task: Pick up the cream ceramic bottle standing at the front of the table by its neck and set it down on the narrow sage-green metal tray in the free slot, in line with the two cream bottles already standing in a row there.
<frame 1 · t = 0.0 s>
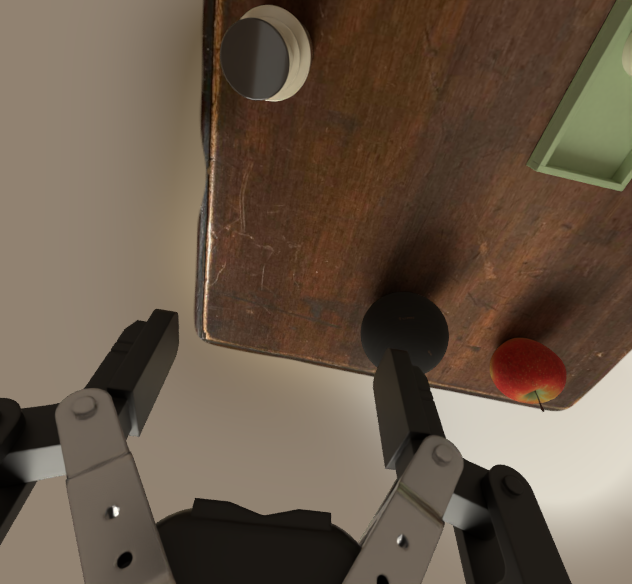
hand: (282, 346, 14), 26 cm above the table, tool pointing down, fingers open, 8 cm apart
apple: (510, 345, 49), on the table
black ball: (395, 306, 46), on the table
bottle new: (283, 52, 30), on the table
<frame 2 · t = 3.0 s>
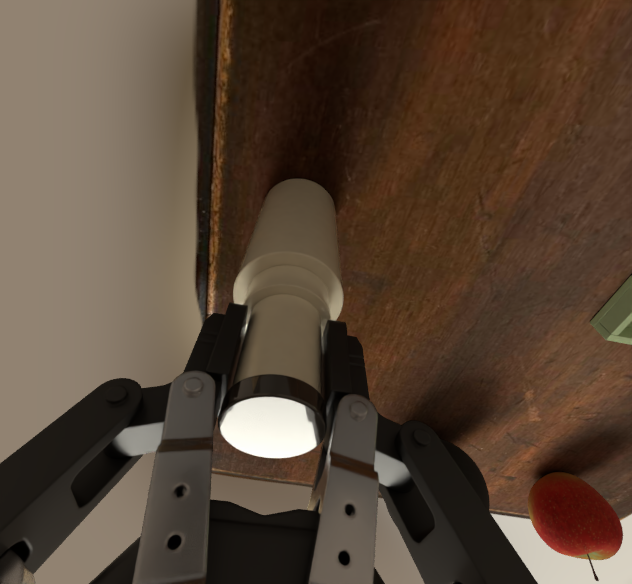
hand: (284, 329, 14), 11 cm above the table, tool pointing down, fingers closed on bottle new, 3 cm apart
apple: (550, 475, 43), on the table
black ball: (421, 443, 40), on the table
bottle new: (298, 215, 24), on the table, touching gripper
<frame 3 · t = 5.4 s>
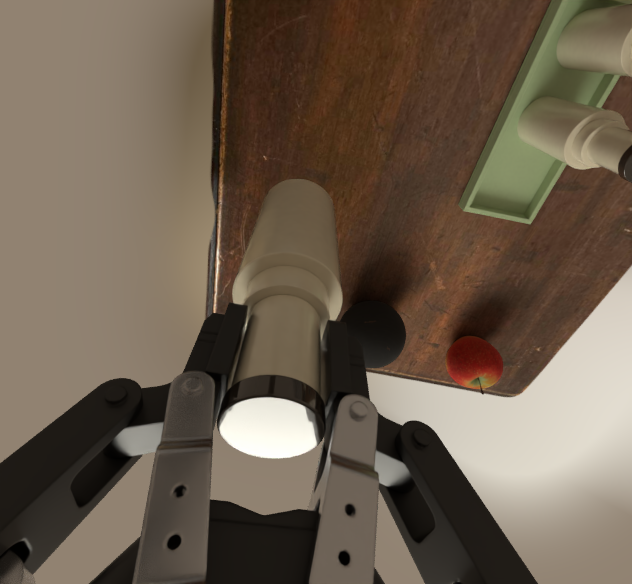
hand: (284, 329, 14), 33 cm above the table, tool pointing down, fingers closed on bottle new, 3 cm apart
apple: (463, 342, 60), on the table
bottle a: (583, 40, 35), point 1 cm above the table, touching tray
bottle b: (540, 121, 39), point 1 cm above the table, touching tray
black ball: (367, 312, 57), on the table
tray: (538, 120, 40), on the table
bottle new: (298, 215, 24), point 22 cm above the table, touching gripper
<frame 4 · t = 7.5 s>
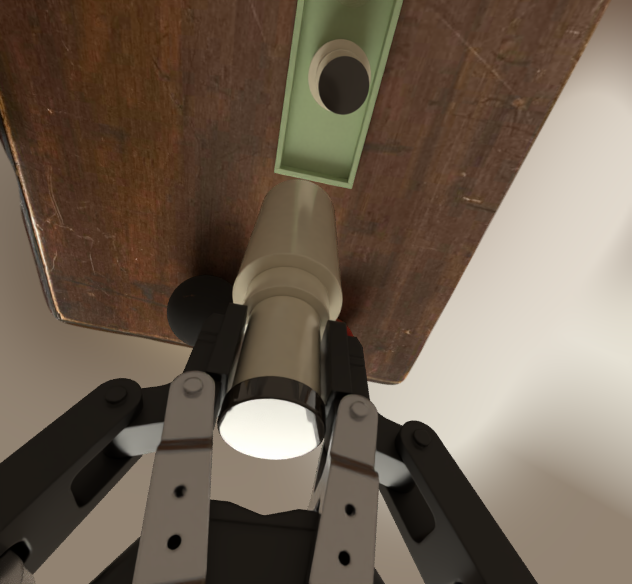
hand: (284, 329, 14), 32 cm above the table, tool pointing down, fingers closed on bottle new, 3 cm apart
bottle b: (335, 69, 36), point 1 cm above the table, touching tray
black ball: (215, 289, 53), on the table
tray: (335, 69, 36), on the table
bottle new: (297, 216, 24), point 21 cm above the table, touching gripper
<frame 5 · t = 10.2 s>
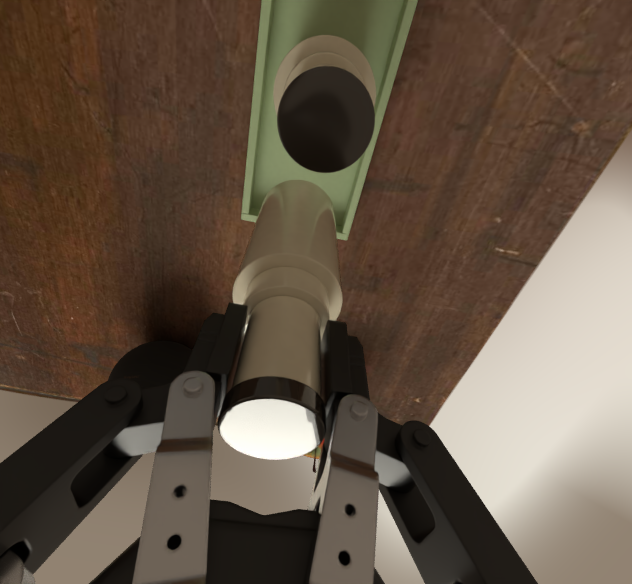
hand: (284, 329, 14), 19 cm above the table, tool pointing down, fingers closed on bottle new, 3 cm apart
bottle b: (323, 80, 25), point 1 cm above the table, touching tray
black ball: (176, 352, 42), on the table
tray: (323, 79, 25), on the table
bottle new: (297, 216, 24), point 7 cm above the table, touching gripper
when the fingers open (12 cm above the table, at t = 12.1 s): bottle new stays where it is, resting on tray.
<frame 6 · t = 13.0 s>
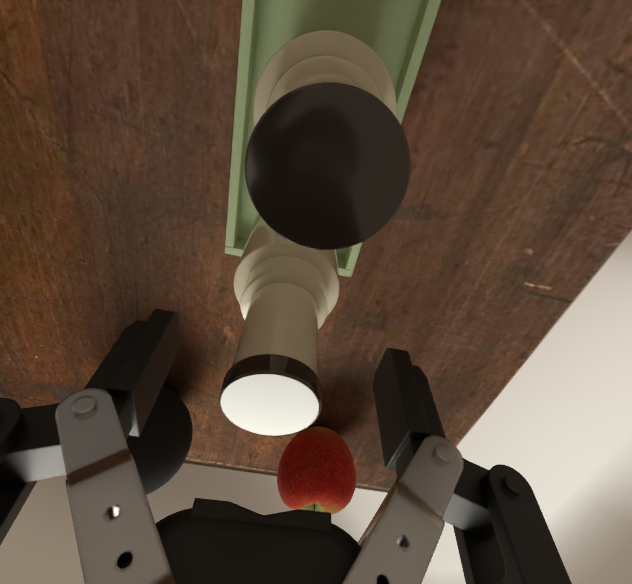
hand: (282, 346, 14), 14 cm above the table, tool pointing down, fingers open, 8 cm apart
apple: (317, 431, 41), on the table
bottle b: (323, 89, 20), point 1 cm above the table, touching tray
black ball: (157, 392, 37), on the table
tray: (323, 87, 20), on the table
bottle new: (297, 210, 24), point 1 cm above the table, touching tray
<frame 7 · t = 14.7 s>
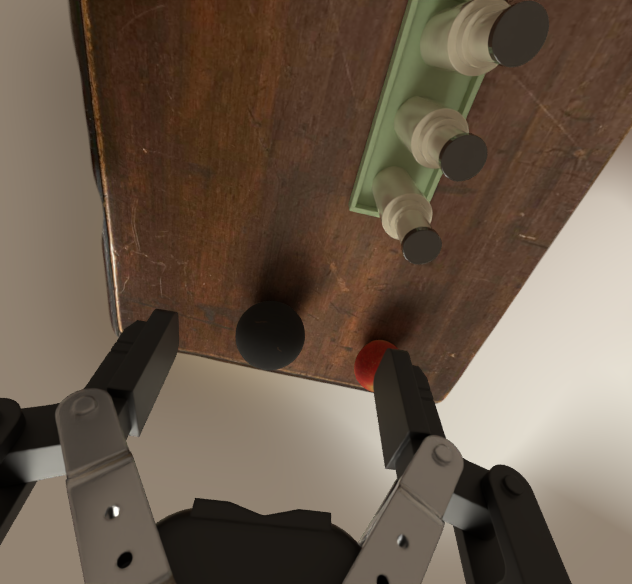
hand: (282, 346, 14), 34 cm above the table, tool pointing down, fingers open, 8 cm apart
apple: (377, 346, 59), on the table
bottle a: (445, 40, 35), point 1 cm above the table, touching tray
bottle b: (416, 121, 39), point 1 cm above the table, touching tray
black ball: (274, 313, 56), on the table
tray: (415, 120, 39), on the table
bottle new: (391, 187, 43), point 1 cm above the table, touching tray
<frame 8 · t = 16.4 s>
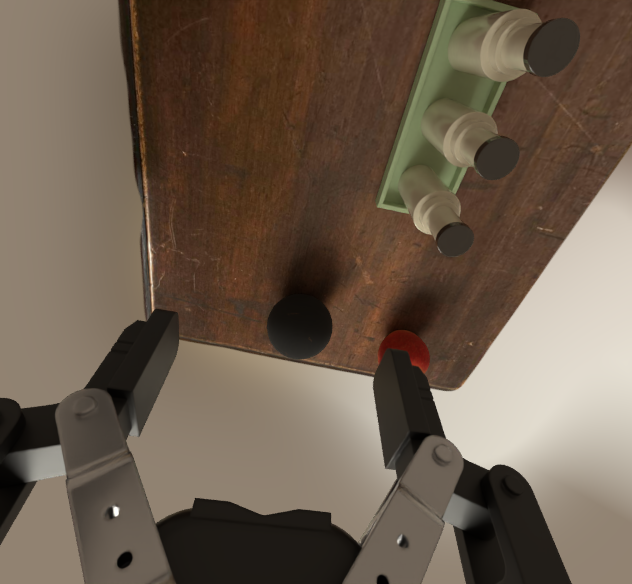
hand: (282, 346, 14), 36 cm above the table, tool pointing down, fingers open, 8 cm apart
apple: (398, 336, 62), on the table
bottle a: (471, 45, 37), point 1 cm above the table, touching tray
bottle b: (442, 122, 41), point 1 cm above the table, touching tray
black ball: (301, 305, 58), on the table
tray: (440, 121, 42), on the table
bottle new: (417, 184, 45), point 1 cm above the table, touching tray
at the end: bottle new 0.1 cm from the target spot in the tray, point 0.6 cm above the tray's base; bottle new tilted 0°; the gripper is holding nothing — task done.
